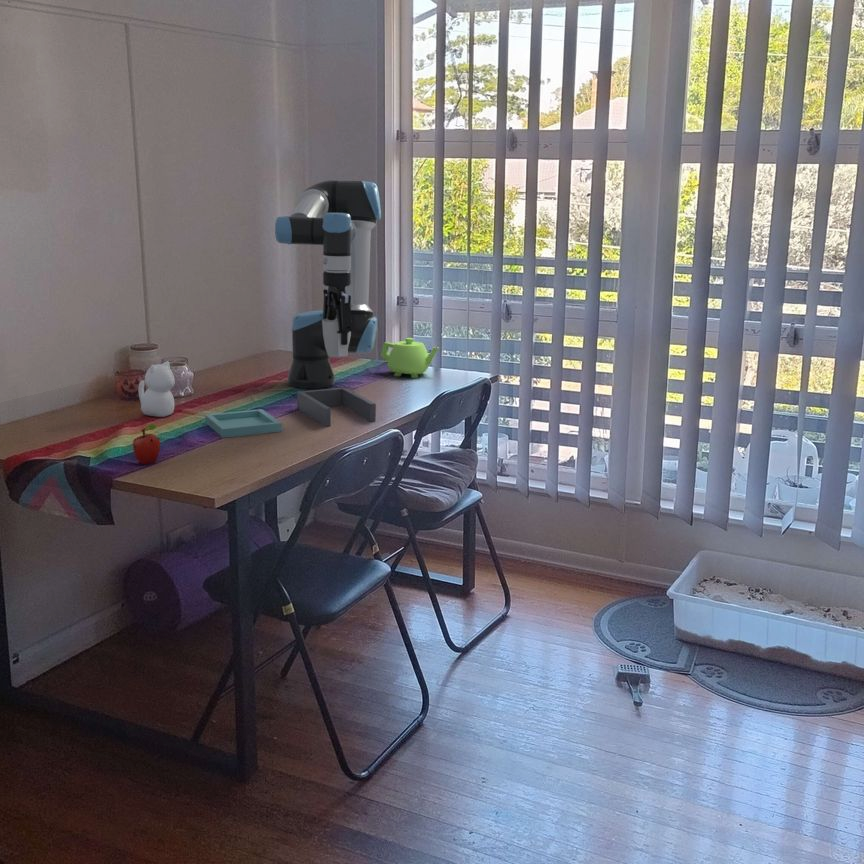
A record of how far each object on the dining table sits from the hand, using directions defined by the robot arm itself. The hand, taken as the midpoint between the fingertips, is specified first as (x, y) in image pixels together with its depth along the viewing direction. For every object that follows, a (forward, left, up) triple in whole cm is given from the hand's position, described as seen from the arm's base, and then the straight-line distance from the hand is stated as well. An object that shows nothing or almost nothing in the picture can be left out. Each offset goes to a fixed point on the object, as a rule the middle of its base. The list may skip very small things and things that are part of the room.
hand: (336, 353), depth 269 cm
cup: (0, 0, -1) cm, 1 cm away
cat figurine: (-20, -46, -18) cm, 53 cm away
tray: (+2, -28, -18) cm, 33 cm away
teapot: (-41, +44, -18) cm, 63 cm away
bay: (0, 0, -18) cm, 18 cm away
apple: (+24, -58, -18) cm, 65 cm away
